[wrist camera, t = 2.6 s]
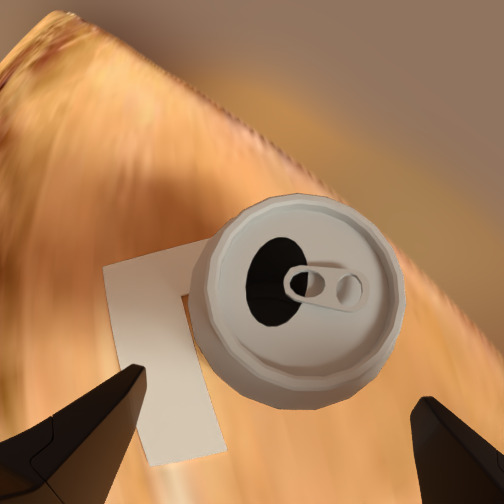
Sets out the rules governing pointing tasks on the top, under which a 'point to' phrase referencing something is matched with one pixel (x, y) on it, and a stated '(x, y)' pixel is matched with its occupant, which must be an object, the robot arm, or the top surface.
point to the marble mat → (163, 353)
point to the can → (297, 302)
